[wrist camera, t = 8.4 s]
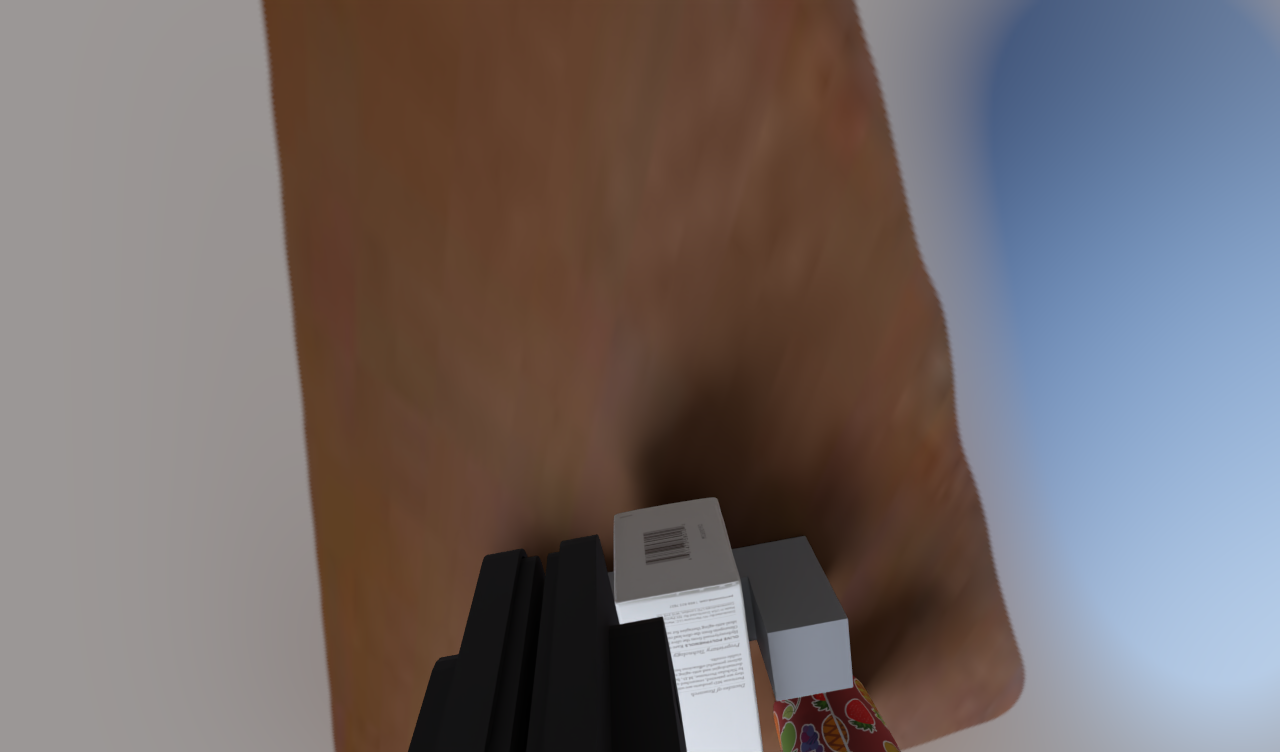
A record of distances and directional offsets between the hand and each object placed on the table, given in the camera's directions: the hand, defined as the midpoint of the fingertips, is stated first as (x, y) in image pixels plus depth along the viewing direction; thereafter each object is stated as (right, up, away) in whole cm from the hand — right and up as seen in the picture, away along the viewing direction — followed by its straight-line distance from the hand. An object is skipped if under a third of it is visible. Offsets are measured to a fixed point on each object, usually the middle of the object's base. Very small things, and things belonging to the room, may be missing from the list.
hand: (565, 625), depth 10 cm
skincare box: (+2, -5, +25) cm, 26 cm away
